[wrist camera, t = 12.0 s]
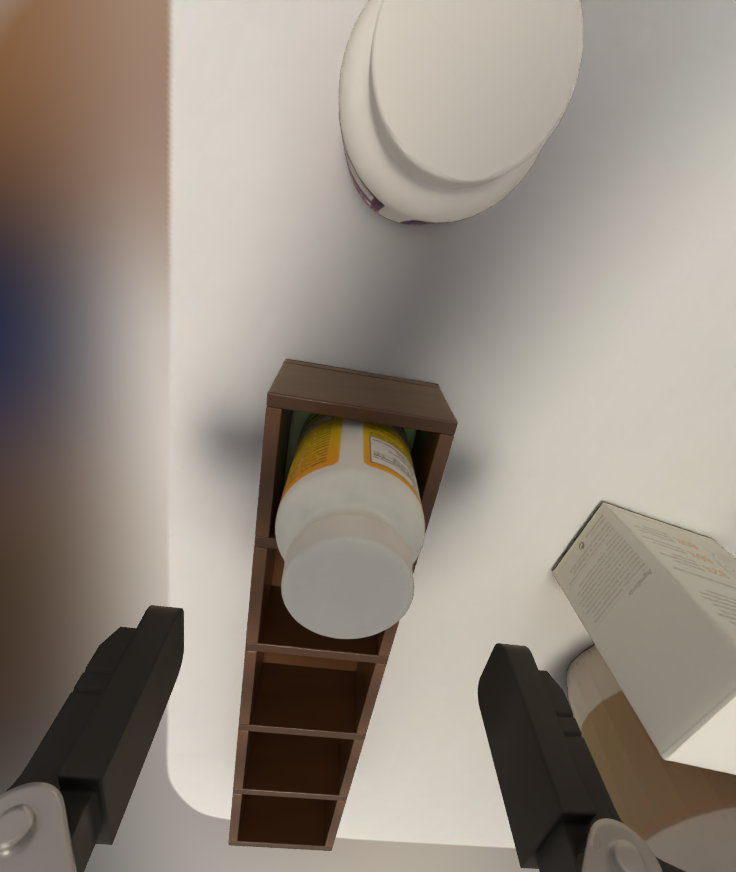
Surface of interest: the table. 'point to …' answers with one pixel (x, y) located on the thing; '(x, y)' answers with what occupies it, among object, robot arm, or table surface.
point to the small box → (662, 628)
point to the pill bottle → (453, 100)
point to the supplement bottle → (349, 527)
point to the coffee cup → (652, 777)
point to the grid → (304, 649)
